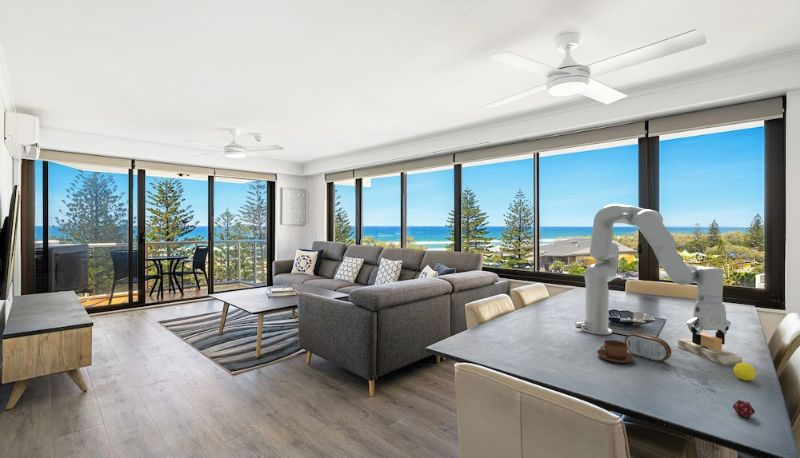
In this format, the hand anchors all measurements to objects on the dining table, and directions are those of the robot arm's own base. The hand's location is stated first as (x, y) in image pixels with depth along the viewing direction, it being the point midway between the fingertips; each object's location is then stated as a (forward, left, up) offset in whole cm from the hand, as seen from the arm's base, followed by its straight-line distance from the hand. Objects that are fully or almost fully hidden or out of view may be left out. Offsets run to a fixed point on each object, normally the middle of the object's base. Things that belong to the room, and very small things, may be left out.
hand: (708, 343), depth 144 cm
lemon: (-8, -22, -5) cm, 24 cm away
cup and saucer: (-39, -2, -5) cm, 39 cm away
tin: (-26, -1, -5) cm, 26 cm away
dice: (-32, -43, -5) cm, 54 cm away
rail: (0, 0, -4) cm, 4 cm away
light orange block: (0, 0, -4) cm, 5 cm away
